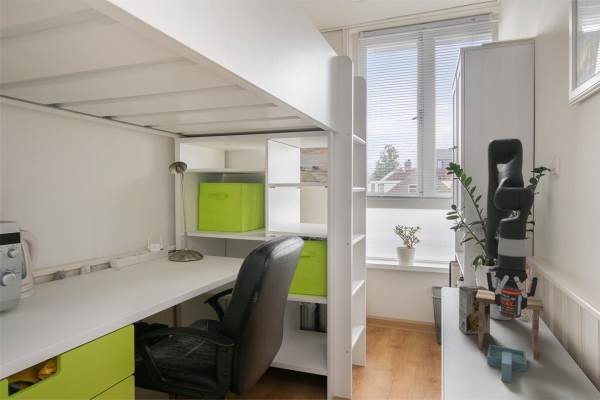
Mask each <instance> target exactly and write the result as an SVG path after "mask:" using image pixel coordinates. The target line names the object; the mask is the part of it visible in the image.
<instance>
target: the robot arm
mask: <svg viewBox="0 0 600 400" xmlns="http://www.w3.org/2000/svg"><path fill="white" fill-rule="evenodd" d="M523 156H524V150H523V143H522V140H521V139H519V138H497V139H496V138H495V139H491V140H490V141H489V142H488V145H487V169H488V170H487V173H488V174H487V175H488V176H487V177H488V183H487V195H486V197H487V198H486V231H485V232H486V233H485V240H484V241H485V242H484V254H485V256H486V257H487V258H488V259H495V260H497V264H496V265H492V266H490V267H489V268H488V270H487V271H486V274H485V275H486V281H487V282H486V283H487V289H488V290H489V291H492V292H494V293H495V304H497V305H495V304H490V319H494V320H499V321H500V320H501V321H510V320H513V318H509V317H505V316H503V315H501V314H500V291H501V289H502V288H503V287H504V285H505V283H506V282H507V280H515V282H516V283H517V286H518V288H519V289H520V290H521V291H522V295H523V296H522V310H525V309H524V308H527V298H528V297H530V296H532V297H533V296H536V291H537V285H538V280H539V278H538V276H537V275H531V274H528V273H527V253H528V251H527V225H528V219H529V215H530V212H531V210H532V208H533V205H534V201H535V194H534V192H533V191H532V189H531V188H529V187H525V181H524V176H523V175H524V174H523V166H524V165H523V163H524V160H523V159H524V157H523ZM498 165H504V166H502V167H501V169H500V170H499V167H498ZM517 211H519V213H518V214H517V215H516V216H513V217H510V216H511V215H512V213H513V212H517ZM498 231H499V236H496V234H497V232H498ZM526 280H528V282H529V283H530V287H529V288H530V289H529V291H527V290H526V289H525V286H524V284H523V283H524V282H525V281H526Z"/></svg>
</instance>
